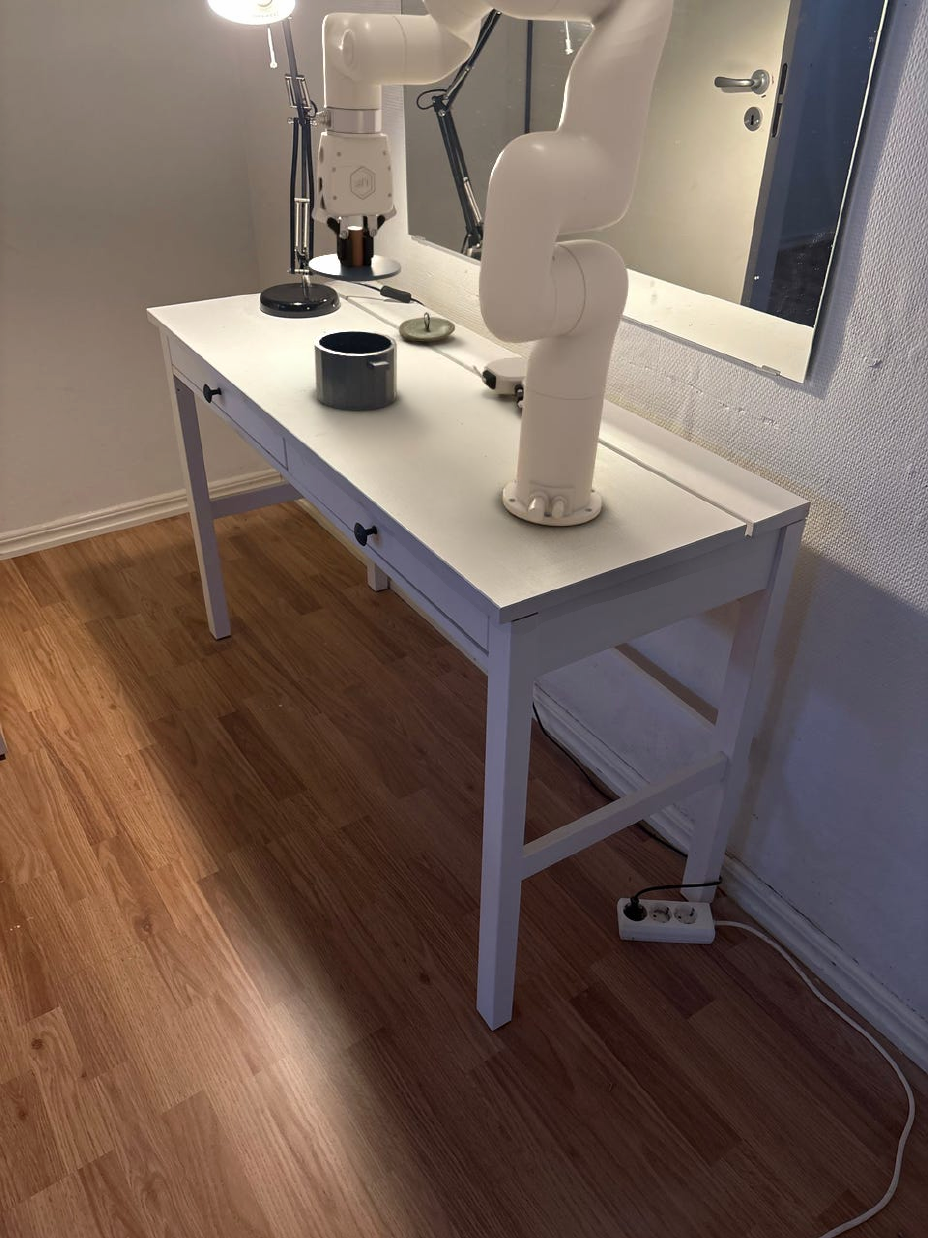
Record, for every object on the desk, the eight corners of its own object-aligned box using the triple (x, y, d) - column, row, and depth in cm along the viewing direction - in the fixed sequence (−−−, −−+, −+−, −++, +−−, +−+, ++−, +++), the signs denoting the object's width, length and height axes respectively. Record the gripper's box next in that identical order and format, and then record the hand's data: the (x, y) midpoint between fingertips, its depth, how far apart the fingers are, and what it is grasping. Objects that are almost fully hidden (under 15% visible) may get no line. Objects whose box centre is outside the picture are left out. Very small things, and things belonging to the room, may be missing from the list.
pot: (345, 421, 136) (343, 365, 132) (297, 383, 149) (294, 330, 144) (418, 408, 142) (419, 354, 137) (366, 372, 154) (366, 321, 150)
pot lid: (332, 288, 128) (331, 241, 124) (294, 265, 137) (292, 221, 133) (417, 279, 134) (418, 234, 130) (375, 258, 143) (375, 215, 140)
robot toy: (582, 413, 146) (531, 376, 156) (587, 386, 143) (534, 350, 153) (517, 425, 140) (468, 386, 150) (521, 397, 138) (470, 359, 148)
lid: (458, 340, 176) (459, 313, 174) (449, 342, 166) (450, 313, 165) (404, 337, 177) (405, 310, 175) (392, 339, 168) (393, 310, 166)
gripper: (307, 126, 118) (313, 275, 128) (419, 125, 125) (416, 266, 135) (286, 119, 123) (294, 262, 134) (395, 118, 130) (394, 254, 141)
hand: (355, 263), depth 134 cm, fingers closed on pot lid, 2 cm apart
